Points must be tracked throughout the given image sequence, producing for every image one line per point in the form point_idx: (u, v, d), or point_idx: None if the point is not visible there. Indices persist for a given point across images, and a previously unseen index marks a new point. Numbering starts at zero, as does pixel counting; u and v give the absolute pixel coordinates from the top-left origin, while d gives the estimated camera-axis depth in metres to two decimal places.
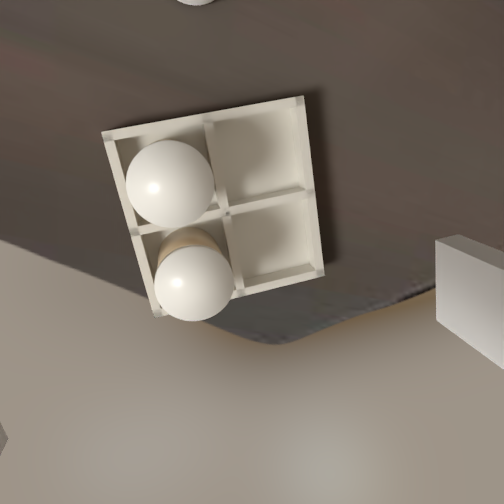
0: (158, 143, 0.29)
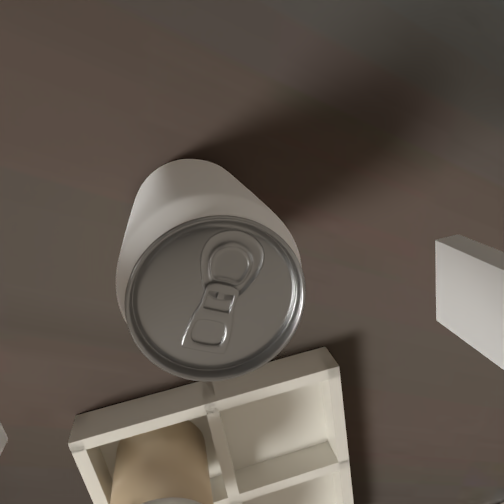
0: None
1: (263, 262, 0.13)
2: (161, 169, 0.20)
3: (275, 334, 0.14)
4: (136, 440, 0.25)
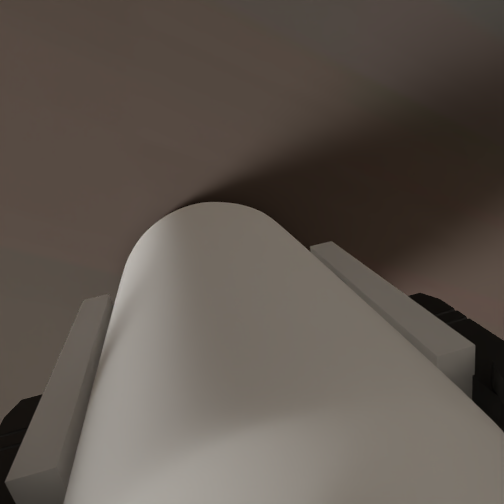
0: None
1: None
2: (168, 225, 0.12)
3: None
4: None
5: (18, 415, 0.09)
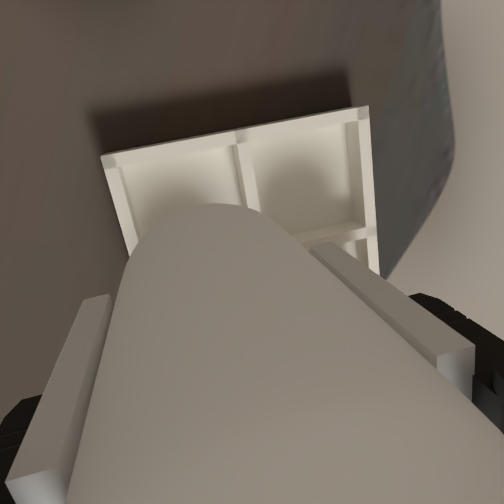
0: None
1: None
2: (168, 227, 0.12)
3: None
4: None
5: (18, 415, 0.09)
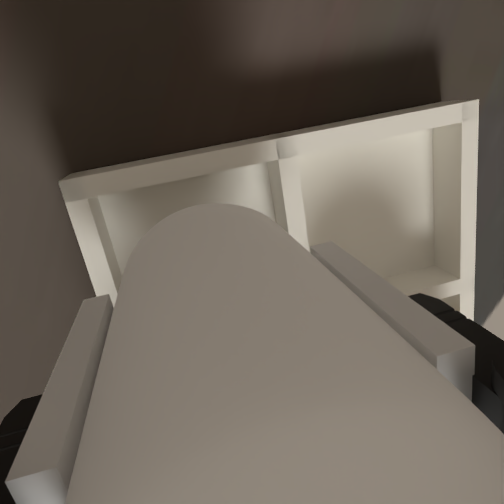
0: None
1: None
2: (168, 227, 0.12)
3: None
4: None
5: (18, 415, 0.09)
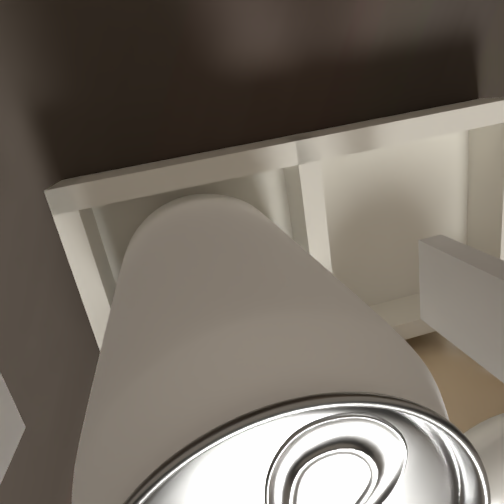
0: None
1: (404, 469, 0.06)
2: (164, 213, 0.13)
3: None
4: None
5: None
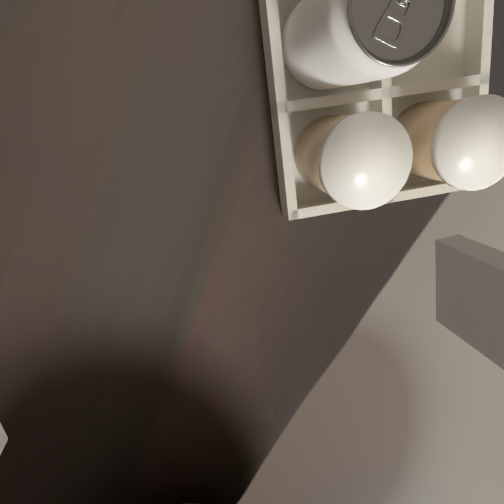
0: (323, 172, 0.26)
1: None
2: None
3: (429, 41, 0.21)
4: (302, 172, 0.32)
5: None
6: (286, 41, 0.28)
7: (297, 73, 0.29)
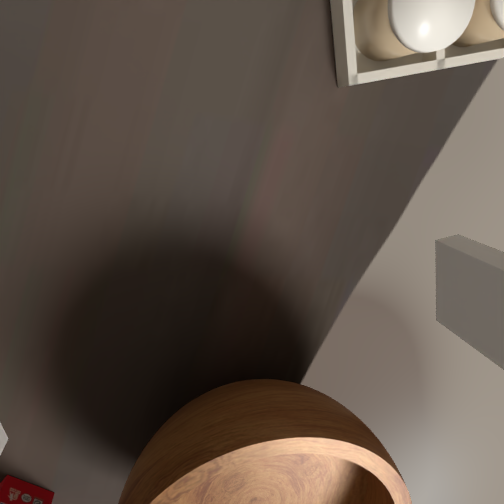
0: (395, 10, 0.28)
1: None
2: None
3: None
4: (361, 36, 0.34)
5: None
6: None
7: None
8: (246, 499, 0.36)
